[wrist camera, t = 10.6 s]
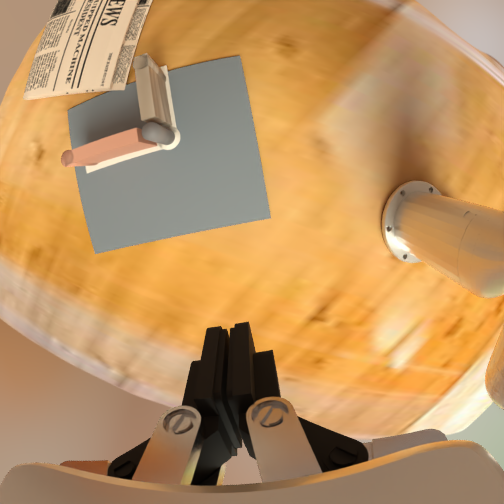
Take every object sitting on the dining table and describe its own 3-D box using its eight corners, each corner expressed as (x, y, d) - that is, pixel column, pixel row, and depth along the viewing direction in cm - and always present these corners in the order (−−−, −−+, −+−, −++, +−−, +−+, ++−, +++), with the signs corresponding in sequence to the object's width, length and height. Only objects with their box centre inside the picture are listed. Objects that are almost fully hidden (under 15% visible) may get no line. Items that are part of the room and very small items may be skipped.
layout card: (238, 50, 30) (238, 49, 29) (270, 217, 37) (270, 218, 36) (68, 104, 30) (66, 104, 30) (96, 253, 37) (95, 254, 37)
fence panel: (173, 128, 32) (158, 119, 25) (176, 143, 33) (160, 137, 26) (88, 153, 32) (60, 153, 26) (89, 167, 33) (62, 168, 26)
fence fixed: (165, 72, 30) (148, 52, 23) (173, 125, 32) (157, 115, 25) (151, 76, 30) (131, 58, 23) (159, 129, 32) (139, 120, 25)
